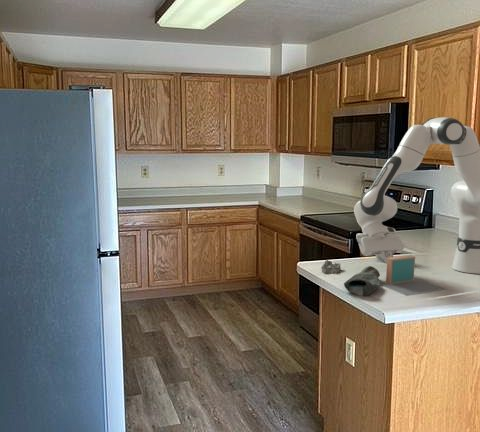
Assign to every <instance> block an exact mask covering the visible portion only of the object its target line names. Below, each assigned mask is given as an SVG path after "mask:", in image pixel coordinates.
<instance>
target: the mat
mask: <svg viewBox="0 0 480 432" xmlns="http://www.w3.org/2000/svg"><path fill="white" fill-rule="evenodd" d="M379 286H382V287H384V288H387V289H389V290H392V291H394V292H397V293H400V294H401V295H404V296H407V297H408V296H413V295H421V294H426V293H427V294H429V293H432V292H439V291H446V290H448V288H445V287H443V286H441V285H437V284H435V283H431V282H429V281H427V280H426V281H425V280H423V279H420V278H418V277H415V276H414V281H408V282H401V283H395V284H389V283H386V280H382V281H380V285H379Z"/></svg>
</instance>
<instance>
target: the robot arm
mask: <svg viewBox="0 0 480 432" xmlns="http://www.w3.org/2000/svg"><path fill="white" fill-rule="evenodd" d="M432 144H436V145H448V146H449V147H450V150H451V155H452V160H453V163H454V168H455V172H456V174H457V175H458V176H459V177H460V178H461V179H462V180H459V181H457V182H455V183H454V184H453V185H452V187H451V188H450V197H451V199H452V201H454V204H455V205H456V209H457V213H458V221H459V224H458V225H459V227H458V229H459V230H458V236H457V238H456V246H457V247H456V248H455V251H454V257H453V258H454V259H453V262H452V263H451V265H452V266H451V268H452V269H453V270H454V271H457V272H462V273H468V274H478V275H480V144H479V140H478V138H477V134H476V133H475V130H474V129H473V128H472V126H471V127H470V126H468V125H463V123H462V121H460V120H459V119H456V118H455V117H454V118H453V117H444V116H443V117H442V116H441V117H431V118H428V119H427V120H425V121H424V122H423V123H422V124H414V125H411V126H410V127H409V128H408V130H407V131H406V132H405V134H404V135H403V137H402V139H401V141H400V142H399V145H398V146H397V149H396V150H395V152H394V153H393V154H392V156H391V157H390V158H388V160H387V161H386V162H385V163H384V165H383V166H382V168H381V169H380V171H379V172H378V174H377V176H376V178H375V179H374V181H373V182H372V184H371V186H370V187H369V188H368V189H367V190H366V191H365V192H364V193H363V195H362V196H361V198H360V200H359V201H358V202H356V203H355V205H354V207H353V213H354V217H355V219H356V221H357V223H358V225H359V227H360V228H361V230H362V231H361V232H362V233H363V234H358V236H357V237H356V241H357V243H358V247H359V250H360V254H362V255H363V256H364V257H367V256H369V257H370V256H376V255H379V256H380V257H381V258H382V259H383V260H384V261H385V262H384V263H385V264H387V258H392V253H393V254H396V253H401V252H402V251H404V249H405V244H404V243H403V241H402V239H401V237H400V236H399V234H397V233H396V232H397V230H396V229H395V228H394V227H390V226H386V225H384V224H383V223H384V222H386V221H388V220H390V219H392V218H393V217H395V215H397V212H398V203H397V201H396V200H395V199H393V198H392V197H390V196H388V195H385V194H386V192H387V191H388V188H389V187H390V186H391V184H392V182H393V181H394V179H395V178H396V177H397V176H398V175H399V174H402V173H408V172H412V171H414V170H416V169H418V167H419V166H420V165H421V163H422V161H423V159H424V157H425V155H426V153H427V150H428V149H429V147H430V146H431V145H432ZM384 254H386V256H388V257H386V256H385V255H384Z"/></svg>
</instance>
